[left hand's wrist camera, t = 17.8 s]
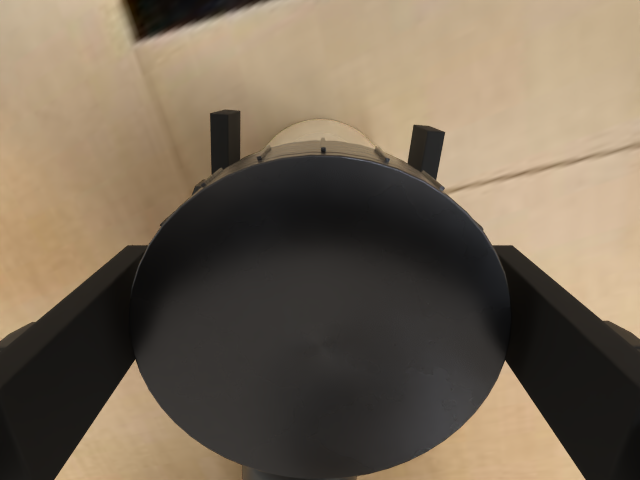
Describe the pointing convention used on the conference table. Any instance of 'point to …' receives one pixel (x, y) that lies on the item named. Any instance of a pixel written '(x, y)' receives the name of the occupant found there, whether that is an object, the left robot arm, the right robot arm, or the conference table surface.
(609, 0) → the conference table surface
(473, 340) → the lid
